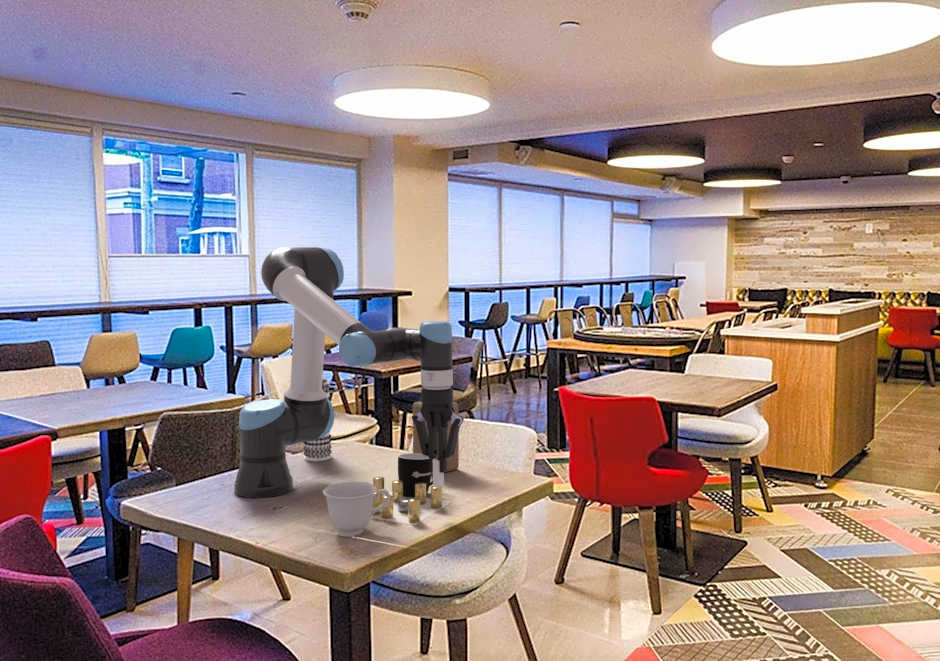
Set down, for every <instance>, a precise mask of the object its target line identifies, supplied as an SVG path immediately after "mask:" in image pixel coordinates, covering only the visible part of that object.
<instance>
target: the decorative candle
mask: <svg viewBox="0 0 940 661" xmlns="http://www.w3.org/2000/svg"><path fill="white" fill-rule="evenodd" d="M329 384H330V381H328V380H327V378H326V377H323V378H322V390H323V391H324V392H325V393H326V394H327V399H328V400H329V401H330V402H332V400H333V399H332V398H331V394H330V389H329V387H330V385H329ZM331 438H332V434H331V430H330V431H329V433H328V434H326V435H325V436H324V437H321V438H318V439H316V440H314V441H307V442H302V443H303V444H304V446H303V448H302V449H303V452H302V454H303V455H304V456H303V459H304V460H305V461H308V462H323V461H327V460H330V459H331V458H332V453H333V452H332V450H331V449H332V445H331V442H332V439H331Z"/></svg>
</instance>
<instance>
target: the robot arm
mask: <svg viewBox="0 0 940 661" xmlns="http://www.w3.org/2000/svg"><path fill="white" fill-rule="evenodd" d="M260 272H261V274H260V275H261V280H262V282H263V285H264V287H265V288H266V289H267V291H269V293H270V294H271V295H272V296H274V297H275V298H276V299H277V300H279V301H282V302H287V303H288V304H289V305H290V306H292V307H293V308H294V315H293V329H292V330H293V332H292V334H293V335H292V348H291V349H292V352H291V354H292V355H291V365H290V366H291V368H290V370H291V371H290V386H289V388H288V389H287V390H285V392H284V394H283V400H282V399H279V398H276V399H275V398H270V399H269V398H268V399H261V400H256V401H253V402H250V403H248V404H246V405H244V406H243V407H242V408H241V410H240V411H239V418H238V419H239V420H238V421H239V422H238V428H239V450H240V451H239V454H240V455H239V456H240V464H239V467H238V470H237V475H236V476H235V477H236V478H235V480H234V483H233V484H234V486H233V487H234V494H236V495H238V496H240V497H245V498H255V499H256V498H269V497H275V496H280V495H283V494H286V493H289V492H291V491H292V490H293V488H294V480H293V476H292V475H291V471H290V467H289V465H288V463H287V457H286V456H287V455H286V447H288V446H293V445H297V444H301V443H303V442H307V441H314V440H316V439H318V438H321V437H324V436H325V435H326V434H328V433H329V431H330V432H331V430H332V428H333V425H334V423H335V409H334V408H333V404H332V401H329V400H328V399H327V394H326V393H325V392H324V391H323V390H322V378H323V374H324V373H323V372H324V361H325V360H324V359H325V346H326V345H325V343H326V336H327V337H328V338H329V339H330V340H332V341H333V342H334V344H336V345H337V346H338V352H339V356H341V359H342V361H343V363H344V364H346V365H347V366H350V367H358V366H359V367H365V366H370V365H376V364H382V363H389V362H396V361H397V362H398V361H403V360H405V361H406V360H410V361H419V362H420V385H421V386H422V388H421V389H420V397H421V398H420V400H421V402H422V407H421V409H420V412H419V413H417V414H415V415H413V414H412V416H411V420H412V422H413V421H414V423H415V425H416V429H417V433H418V438H419V442H420V447H421V451H422V454H423V455H426V456H428V457H429V459H430V471H432V472H433V475H432V481H433V485H432V486H434V487H440V486H441V487H442V486H443V485H445V473H447V472H446V470H447V458H449V457H451V456H453V455H454V453H455V448H456V443H457V438H458V433H459V432H460V429H461V428H460V427H461V425H462V424H463V422H464V417H463V416H459V417H458V416H457V415H456V414H455V411H454V409H453V402H454V388H453V387H452V386H453V385H454V377H453V375H454V374H453V373H454V372H453V369H454V368H453V341H454V339H453V330H452V324H451V323H450V322H449V321H447V320H427V321H426V320H425V321H422V322H420V324H419V329H418V328H406V327H401V326H399V327H389V328H387V329H385V330H371V329H369V327H367V326H366V325H365V324H363V323H362V322H361V321H360V320H358V319H357V318H356V317H355V316H354V315H352V314H351V313H350V312H349V311H348V310H346V309H345V308H344V307H343V306H342V305H340V304H339V303H338V302H336V301H335V300H334V293H335V292H334V291H336V290H338V289H339V288H340V287H341V285H342V284H343V282H344V276H345V273H344V272H345V271H344V266H343V263H342V260H341V258H339V255H338V254H337V253H336V252H335V251H334V250H332V249H330V248H326V247H319V246H310V247H309V246H306V247H305V246H303V247H301V246H300V247H299V246H298V247H297V246H295V247H293V246H292V247H291V246H284V247H278V248H276V249H274V250H272V251H271V252H270V253H269V254H268V255H266V256H265V259H264V260H263V262H262V265H261V269H260ZM451 418H452V421H451V423H452V426H451V429H450V433H449V438H448V443H447V429H448V423H449V421H450V420H451ZM424 419H425V420H426V422H427V430H428V434H427V430H426V425H425V422H424ZM437 456H438V457H437Z"/></svg>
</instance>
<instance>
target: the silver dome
mask: <svg viewBox="0 0 940 661" xmlns="http://www.w3.org/2000/svg"><path fill="white" fill-rule="evenodd" d="M411 498H414V497H404V498H400V499H399V500H398V511H399V512H400V513H405V514H408V499H411Z"/></svg>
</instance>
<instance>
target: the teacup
mask: <svg viewBox="0 0 940 661" xmlns="http://www.w3.org/2000/svg"><path fill="white" fill-rule="evenodd" d="M376 491H377V488H376V487H375V486H374V485H373V483H369V482H366V481H365V482H364V481H342V482H338V483H334V484H333V483H332V484H330V485H328V486H326V487H325V488H324V489H323V490H322V494H323V495H324V496H325V499H326V504H327V511H328V517H329V518H328V519H329V521H330V523H331V525H332V527H333V528H335V529H337V535H339V536H341V537H345V538H353V537H355V536H357V535H360V534H362V533H364V528H365V527H366V526H368V525H369V523H370V521H371V519H372V518H371V517H372V515H373V514H374V513H375V512H376V511H378V510H381V509H383V508H385V507H386V506H387V505H388V504H389V502H390V494H389V492H390V491H389V490H388V489H386V488H384V489H380V490H378V492H377V496H376V494H374V493H375V492H376ZM380 494H385V495H386V497H387V498H386V501H385V502H384V503H383V504H382V505H380V506H378V507H376V508H375V509H374V510H373V511H372V505H373V498H375V499H378V498H379V495H380Z"/></svg>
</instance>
